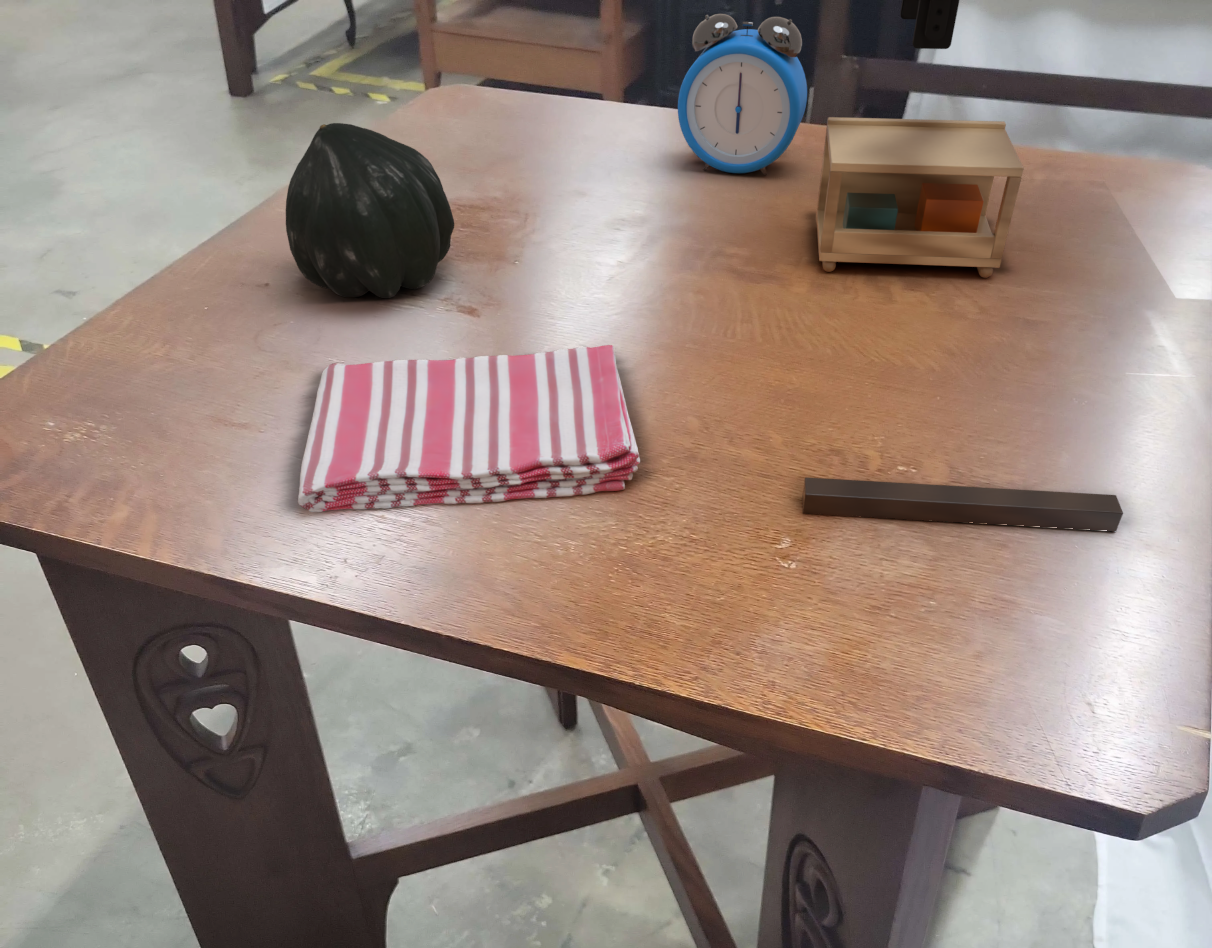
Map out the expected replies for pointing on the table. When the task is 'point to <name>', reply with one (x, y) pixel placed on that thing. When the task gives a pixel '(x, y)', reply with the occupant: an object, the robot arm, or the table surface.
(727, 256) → the table surface
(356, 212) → the squash
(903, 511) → the edge strip
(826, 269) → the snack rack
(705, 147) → the alarm clock
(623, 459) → the dish towel
